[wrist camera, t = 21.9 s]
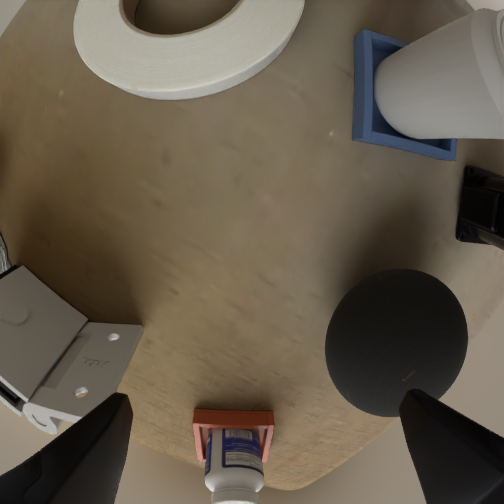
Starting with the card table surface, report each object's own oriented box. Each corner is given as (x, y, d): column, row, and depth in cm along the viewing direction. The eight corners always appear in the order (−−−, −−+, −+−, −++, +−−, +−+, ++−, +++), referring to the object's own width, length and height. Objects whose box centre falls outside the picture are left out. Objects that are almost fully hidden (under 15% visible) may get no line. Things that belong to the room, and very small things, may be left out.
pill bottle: (231, 452, 26) (231, 519, 18) (196, 432, 25) (189, 504, 16) (270, 435, 25) (279, 507, 17) (237, 413, 24) (238, 493, 16)
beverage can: (351, 94, 16) (476, 40, 5) (394, 42, 15) (504, -17, 4) (414, 157, 18) (551, 175, 6) (449, 101, 16) (570, 91, 5)
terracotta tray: (272, 410, 25) (274, 425, 23) (265, 450, 27) (267, 463, 25) (194, 408, 24) (192, 422, 22) (199, 448, 26) (197, 461, 25)
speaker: (287, 339, 22) (313, 440, 13) (354, 226, 20) (439, 282, 10) (377, 368, 24) (422, 447, 14) (438, 278, 21) (514, 336, 12)
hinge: (145, 325, 21) (101, 423, 12) (133, 370, 22) (97, 460, 13) (12, 257, 19) (-65, 307, 9) (11, 305, 20) (-50, 362, 11)
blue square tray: (440, 67, 16) (454, 63, 14) (440, 159, 18) (455, 161, 16) (353, 37, 15) (363, 28, 14) (351, 140, 18) (362, 138, 16)
